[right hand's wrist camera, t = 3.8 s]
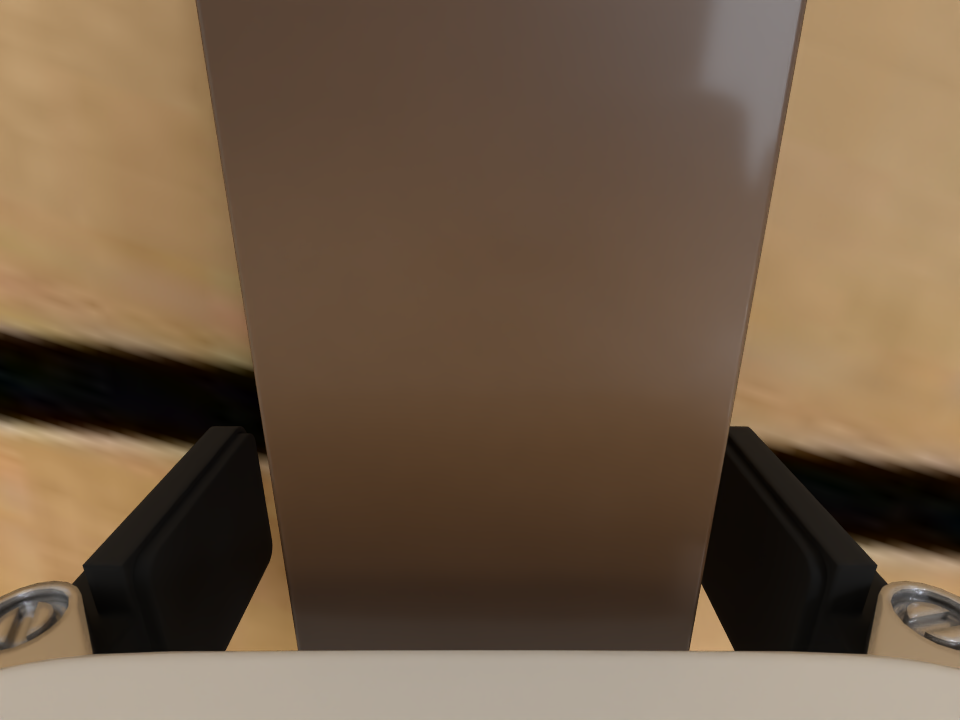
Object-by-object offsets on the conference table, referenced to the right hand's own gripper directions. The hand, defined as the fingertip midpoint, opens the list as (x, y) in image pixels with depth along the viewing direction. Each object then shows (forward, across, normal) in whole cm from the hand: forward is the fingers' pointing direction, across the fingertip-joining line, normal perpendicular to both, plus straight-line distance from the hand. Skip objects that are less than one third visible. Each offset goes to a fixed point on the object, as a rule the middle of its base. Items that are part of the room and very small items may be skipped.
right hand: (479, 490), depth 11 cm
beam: (+3, 0, -34) cm, 34 cm away
